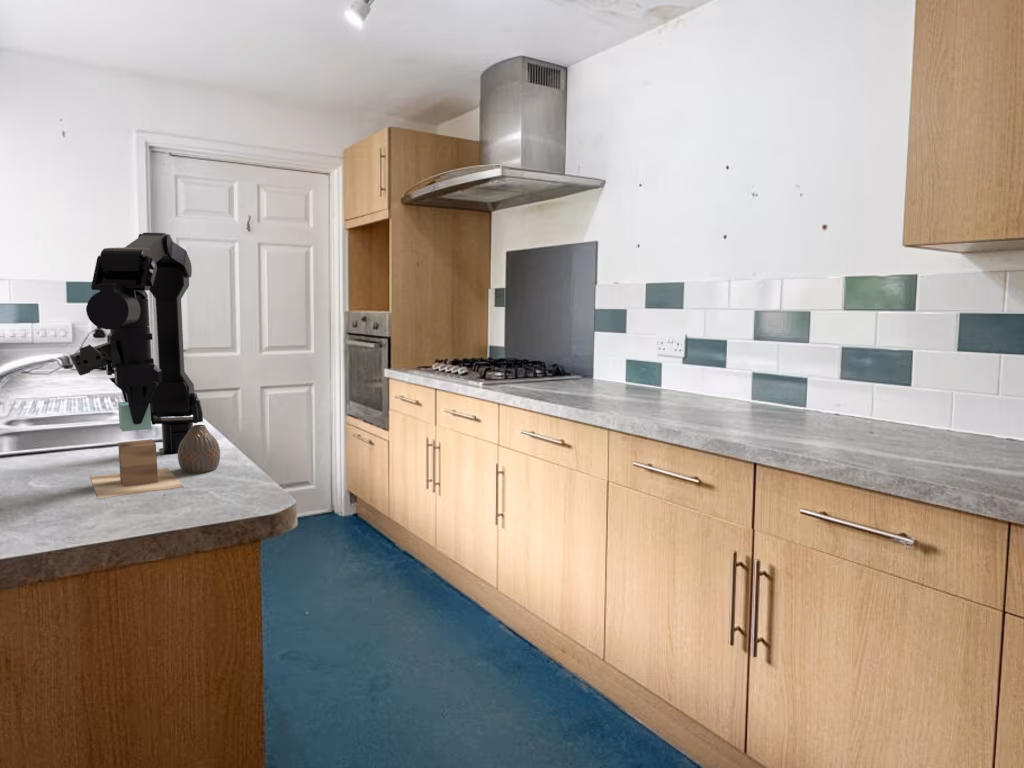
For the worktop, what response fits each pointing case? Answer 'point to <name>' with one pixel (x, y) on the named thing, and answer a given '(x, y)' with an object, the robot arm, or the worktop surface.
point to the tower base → (138, 474)
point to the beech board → (114, 486)
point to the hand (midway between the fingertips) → (135, 422)
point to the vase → (198, 451)
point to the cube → (126, 418)
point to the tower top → (137, 453)
